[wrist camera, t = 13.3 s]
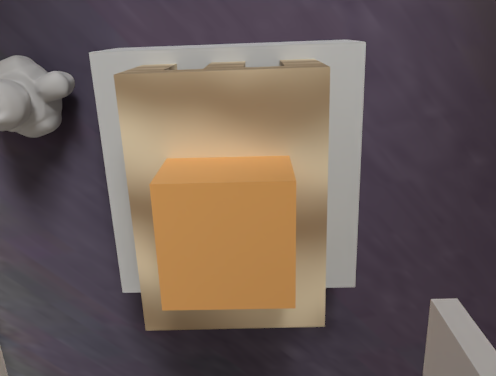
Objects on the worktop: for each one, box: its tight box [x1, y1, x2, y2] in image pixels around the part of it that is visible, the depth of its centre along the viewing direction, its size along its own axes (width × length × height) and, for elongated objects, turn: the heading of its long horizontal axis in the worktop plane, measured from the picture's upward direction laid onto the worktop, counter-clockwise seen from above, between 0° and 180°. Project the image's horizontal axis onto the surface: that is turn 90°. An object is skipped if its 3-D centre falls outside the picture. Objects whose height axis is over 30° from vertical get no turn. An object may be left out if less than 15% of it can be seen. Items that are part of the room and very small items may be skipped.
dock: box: [89, 40, 366, 293], centre depth 32 cm, size 16×16×6 cm
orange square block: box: [149, 156, 296, 311], centre depth 22 cm, size 6×6×4 cm
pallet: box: [114, 59, 330, 331], centre depth 27 cm, size 14×10×6 cm
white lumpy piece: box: [0, 55, 75, 138], centre depth 30 cm, size 5×7×8 cm
